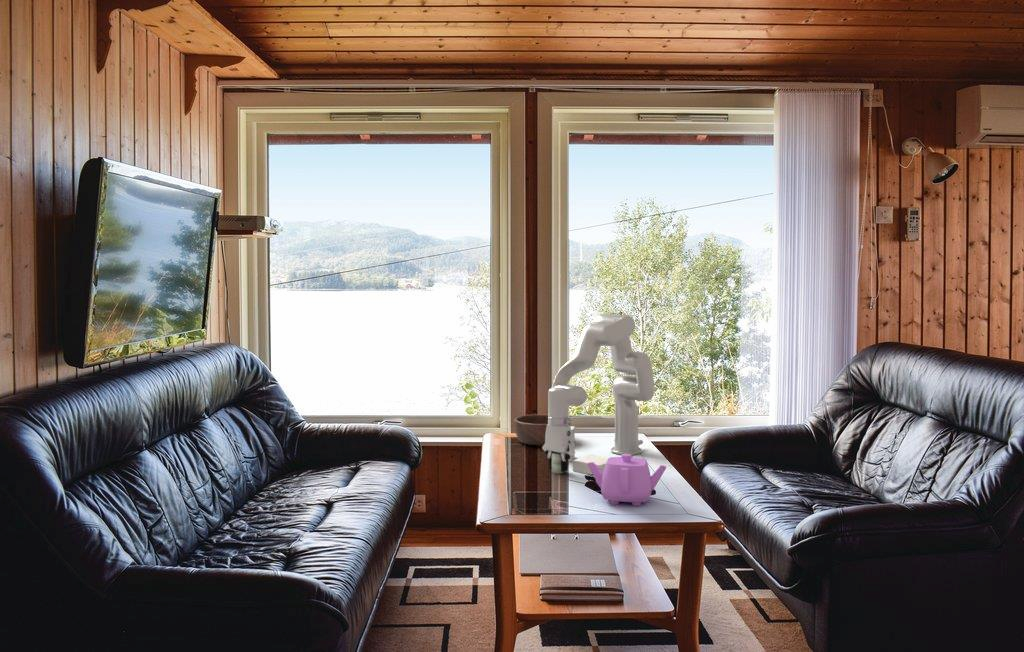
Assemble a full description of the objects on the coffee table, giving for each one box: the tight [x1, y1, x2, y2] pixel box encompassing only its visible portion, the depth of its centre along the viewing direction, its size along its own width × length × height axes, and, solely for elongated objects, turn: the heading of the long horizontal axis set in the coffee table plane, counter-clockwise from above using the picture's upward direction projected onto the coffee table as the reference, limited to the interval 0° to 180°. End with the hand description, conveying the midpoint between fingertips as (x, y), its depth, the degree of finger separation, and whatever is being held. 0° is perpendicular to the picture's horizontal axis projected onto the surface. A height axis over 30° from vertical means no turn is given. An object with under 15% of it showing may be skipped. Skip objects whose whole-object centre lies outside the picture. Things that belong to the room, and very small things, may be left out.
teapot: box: [588, 454, 667, 507], centre depth 240 cm, size 19×18×15 cm
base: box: [572, 454, 610, 475], centre depth 279 cm, size 12×12×4 cm
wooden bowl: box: [513, 413, 572, 447], centre depth 329 cm, size 25×25×10 cm
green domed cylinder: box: [551, 452, 566, 475], centre depth 277 cm, size 5×5×7 cm
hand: (558, 469), depth 277 cm, fingers closed on green domed cylinder, 5 cm apart
